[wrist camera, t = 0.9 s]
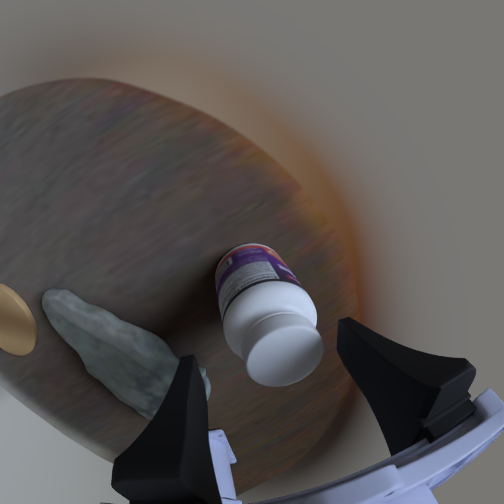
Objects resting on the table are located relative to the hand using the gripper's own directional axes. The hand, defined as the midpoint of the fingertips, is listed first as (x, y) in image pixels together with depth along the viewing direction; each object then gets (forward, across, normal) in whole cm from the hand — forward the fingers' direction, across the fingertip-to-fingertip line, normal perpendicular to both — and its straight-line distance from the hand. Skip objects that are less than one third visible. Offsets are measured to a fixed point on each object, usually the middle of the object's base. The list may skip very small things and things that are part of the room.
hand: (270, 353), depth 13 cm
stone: (+10, +11, +5) cm, 16 cm away
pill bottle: (+10, -1, 0) cm, 10 cm away
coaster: (+9, +23, 0) cm, 25 cm away
